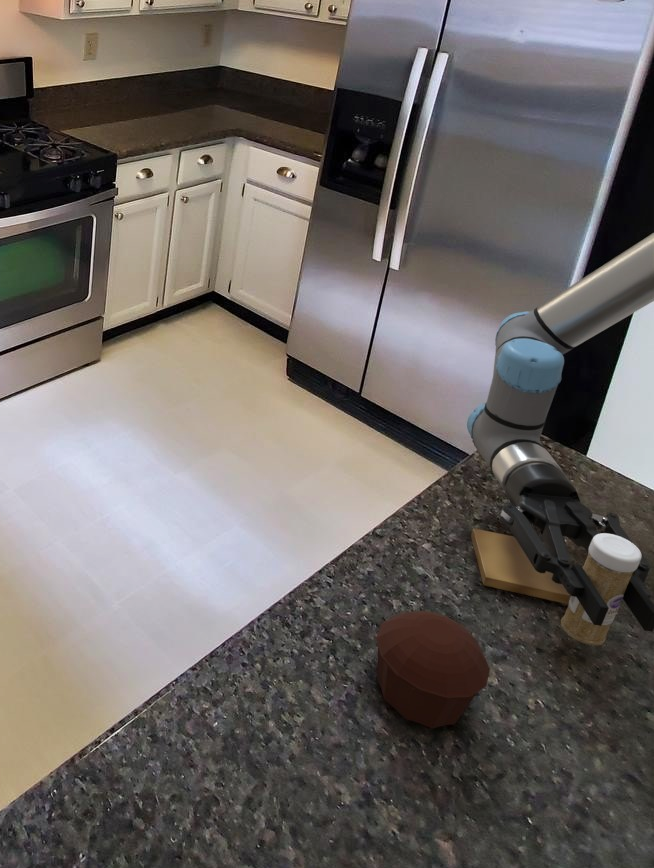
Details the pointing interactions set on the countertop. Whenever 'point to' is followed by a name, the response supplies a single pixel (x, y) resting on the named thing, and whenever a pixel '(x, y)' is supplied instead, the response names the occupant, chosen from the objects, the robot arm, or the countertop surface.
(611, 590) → the sprinkles bottle
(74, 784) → the countertop surface
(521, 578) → the cutting board
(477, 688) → the muffin
